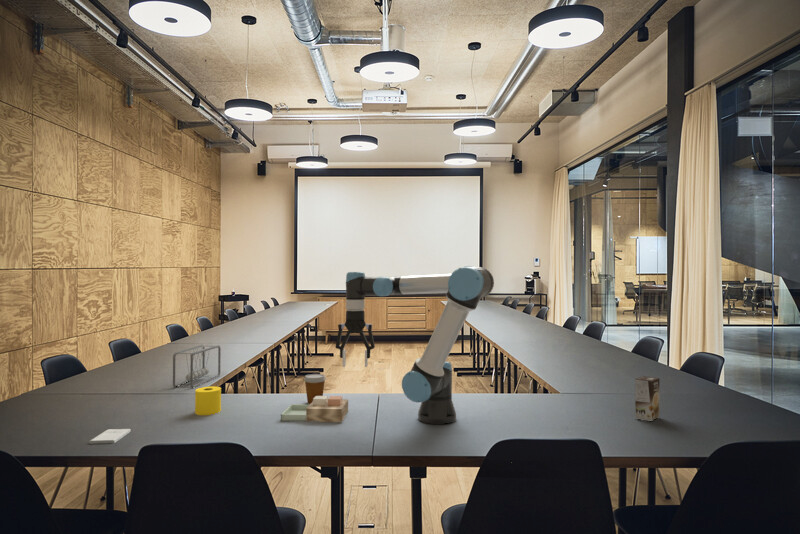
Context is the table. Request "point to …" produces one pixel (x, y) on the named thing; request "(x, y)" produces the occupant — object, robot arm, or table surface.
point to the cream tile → (320, 400)
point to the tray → (294, 413)
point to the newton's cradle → (200, 372)
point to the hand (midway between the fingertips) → (355, 366)
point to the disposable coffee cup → (314, 386)
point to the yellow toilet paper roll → (207, 400)
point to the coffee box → (647, 398)
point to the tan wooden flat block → (327, 412)
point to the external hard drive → (110, 436)
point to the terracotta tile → (335, 400)
